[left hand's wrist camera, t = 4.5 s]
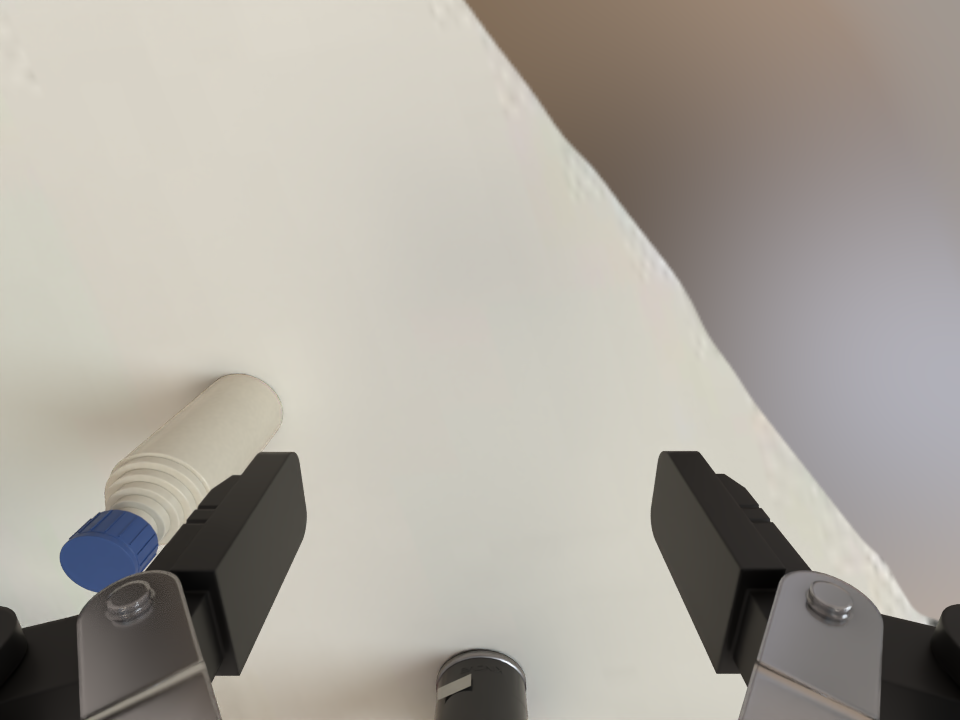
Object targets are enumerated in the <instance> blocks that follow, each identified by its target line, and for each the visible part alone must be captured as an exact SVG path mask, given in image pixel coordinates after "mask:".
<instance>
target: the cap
mask: <svg viewBox="0 0 960 720" xmlns="http://www.w3.org/2000/svg"><path fill="white" fill-rule="evenodd" d="M158 546H159V544H158V537H157V534H156V532H155V531H154V529H153V528H152V526H151V525H150V524H149V523H148V522H147V521H146V520H144V519H143V518H142V517H140V516H138V515H136V514H134V513H132V512H129V511H124V510H117V509H116V510H107V511H104V512H101V513H100V512H99V513H98V514H97V515H96V516H95V517H93V518H92V519H90V520H89V521H88V522H86V523H85V524H84V525H83V526H82V527H81V528H80V529H79V530H78V531H77V532H76V533H75V534H74V535H72V536H71V537H70V538H69V541H68V542H67V543H66V544H65V545H64V546H63V547H62V549H61V552H60V563H61V566H62V568H63V570H64V572H65V573H66V574H67V576H68V577H69V578H70V579H71V580H72V581H74V582H75V583H76V584H78V585H79V586H81V587H83V588H85V589H87V590H90V591H94V592H100V591H101V590H102V589H104V588H105V587H107V586H109V585H110V584H112V583H114V582H116V581H118V580H120V579H122V578H124V577H127V576H130V575H133V574H136V573H140V572H142V571H143V570H144V569H145V568H146V567H147V565H148V564H149V563H150V562H151V560H152V559H153V558H154V557H155V556H156V552H157V549H158Z"/></svg>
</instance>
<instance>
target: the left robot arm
mask: <svg viewBox="0 0 960 720" xmlns="http://www.w3.org/2000/svg"><path fill="white" fill-rule="evenodd" d="M306 521H307V511H306V504H305V497H304V490H303V483H302V477H301V470H300V463H299V459H298V456H297V454H296V453H295V452H259V453H258V454H257V455H256V456H255V457H254V459H253V460H252V461H251V462H250V464H249V465H248V466H247V468H246V469H245V470H244V472H243V473H242V474H241V475H232V476H230V477H229V478H227V479H226V480H224V481H223V482H221V483H220V484H218V485H217V486H215V487H214V488H212V489H211V490H210V492H209V493H208V494H207V495H206V496H205V498H204V499H203V500H202V501H201V503H200V504H199V505H198V509H195V510H194V511H193V512H192V514H191V515H190V516H189V517H188V519H187V520H186V524H183V525H182V526H181V527H180V529H179V530H178V531H177V532H176V533H175V535H174V536H173V537H172V538H171V540H170V541H169V542H168V543H167V545H166V546H165V547H164V548H163V549H162V551H161V552H160V553H159V554H158V556H157V557H156V558H155V559H154V561H153V562H152V563H151V564H150V565H149V567H148V568H147V569H146V570H145V571H144V572H140V573H136V574H133V575H130V576H127V577H124V578H122V579H120V580H118V581H116V582H114V583H112V584H110V585H109V586H107V587H105V588H104V589H102V590H101V591H100V592H98V593H97V594H96V595H95V596H94V597H92V598H91V599H90V600H89V601H88V602H87V604H86V605H85V606H84V607H83V609H82V610H81V612H80V614H79V615H76V616H72V617H68V618H64V619H60V620H56V621H51V622H47V623H43V624H39V625H34V626H30V627H26V628H21V626H20V623H19V621H18V619H17V617H16V614H15V613H14V612H13V611H12V610H11V609H9V608H7V607H2V606H0V720H222V719H221V715H220V712H219V708H218V705H217V702H216V698H215V695H214V691H213V688H212V685H211V683H212V681H213V679H214V677H215V676H240V674H241V671H242V669H243V667H244V665H245V663H246V661H247V659H248V656H249V654H250V652H251V650H252V648H253V646H254V644H255V641H256V639H257V637H258V635H259V633H260V631H261V628H262V626H263V624H264V622H265V620H266V618H267V616H268V613H269V611H270V609H271V607H272V605H273V603H274V600H275V598H276V596H277V594H278V592H279V590H280V588H281V585H282V583H283V581H284V579H285V577H286V575H287V572H288V570H289V568H290V566H291V564H292V562H293V560H294V557H295V555H296V553H297V551H298V549H299V547H300V545H301V542H302V540H303V537H304V534H305V529H306ZM651 526H652V531H653V535H654V538H655V541H656V543H657V545H658V547H659V549H660V551H661V554H662V556H663V558H664V560H665V562H666V565H667V567H668V569H669V571H670V573H671V575H672V578H673V580H674V582H675V584H676V586H677V588H678V591H679V593H680V595H681V597H682V599H683V602H684V604H685V606H686V608H687V610H688V612H689V615H690V617H691V619H692V621H693V623H694V626H695V628H696V630H697V632H698V634H699V636H700V639H701V641H702V643H703V645H704V647H705V649H706V652H707V654H708V656H709V658H710V660H711V663H712V665H713V667H714V669H715V671H716V673H717V674H741V675H742V677H743V679H744V681H745V683H746V685H747V687H748V688H747V691H746V695H745V698H744V702H743V705H742V708H741V712H740V715H739V719H738V720H960V604H956V605H951V606H949V607H947V608H946V609H945V610H944V611H943V612H942V615H941V617H940V619H939V622H938V624H937V626H936V627H933V626H929V625H925V624H921V623H916V622H912V621H908V620H904V619H900V618H895V617H891V616H887V615H883V614H880V612H879V610H878V609H877V607H876V606H875V605H874V604H873V602H872V601H871V600H870V599H869V598H868V597H866V596H865V595H864V594H863V593H862V592H860V591H859V590H858V589H856V588H855V587H853V586H851V585H850V584H848V583H846V582H844V581H842V580H840V579H838V578H836V577H833V576H830V575H827V574H824V573H820V572H816V571H812V570H811V569H810V568H809V567H808V565H807V564H806V563H805V562H804V560H803V559H802V558H801V557H800V555H799V554H798V553H797V552H796V551H795V549H794V548H793V547H792V546H791V544H790V543H789V542H788V541H787V539H786V538H785V537H784V536H783V534H782V533H781V532H780V531H779V529H778V528H777V527H776V526H775V524H774V523H773V522H770V518H769V517H768V516H767V514H766V513H765V512H764V511H763V509H762V508H759V505H758V503H757V502H756V501H755V500H754V498H753V497H752V496H751V495H750V493H749V492H748V491H747V490H746V488H744V487H743V486H741V485H740V484H738V483H737V482H735V481H734V480H733V479H731V478H730V477H728V476H727V475H725V474H715V472H714V471H713V470H712V468H711V467H710V466H709V464H708V463H707V462H706V460H705V459H704V458H703V456H702V455H701V454H700V453H699V452H697V451H663V452H661V454H660V456H659V459H658V464H657V471H656V478H655V485H654V492H653V499H652V506H651ZM436 690H437V698H436V710H435V720H528V714H527V702H526V679H525V675H524V672H523V670H522V669H521V667H520V666H519V665H518V664H517V663H516V662H515V661H514V660H512V659H511V658H509V657H507V656H505V655H503V654H500V653H497V652H492V651H482V650H481V651H470V652H466V653H462V654H460V655H457V656H455V657H453V658H452V659H450V660H449V661H448V662H446V663H445V664H444V665H443V667H442V668H441V670H440V671H439V674H438V677H437V686H436Z"/></svg>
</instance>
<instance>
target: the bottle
mask: <svg viewBox="0 0 960 720" xmlns="http://www.w3.org/2000/svg"><path fill="white" fill-rule="evenodd" d="M282 418H283V410H282V405H281V402H280V400H279V398H278V396H277V395H276V393H275V392H274V391H273V390H272V388H271V387H269V386H268V385H267V384H266V383H264V382H263V381H261V380H259V379H257V378H255V377H252V376H249V375H244V374H232V375H227V376H224V377H221V378H219V379H218V380H216V381H215V382H214V383H213V384H211V385H210V386H209V387H208V388H207V389H205V390H204V391H203V392H202V393H201V394H200V395H198V396H197V397H196V398H195V399H194V400H192V401H191V402H190V403H189V404H188V405H186V406H185V407H184V408H183V409H182V410H181V411H179V412H178V413H177V414H176V415H175V416H173V417H172V418H171V419H170V420H169V421H167V422H166V423H165V424H164V425H163V426H162V427H160V428H159V429H158V430H157V431H156V432H154V433H153V434H152V435H151V436H150V437H149V438H147V439H146V440H145V441H144V442H143V443H141V444H140V445H139V446H138V447H137V448H135V449H134V450H133V451H132V452H131V453H130V454H128V455H127V456H126V457H125V458H124V459H122V460H121V461H120V462H119V463H118V464H117V465H116V466H115V467H114V469H113V470H112V472H111V475H110V477H109V479H108V481H107V484H106V487H105V507H106V509H105V511H107V510H116V509H117V510H124V511H129V512H132V513H134V514H136V515H138V516H140V517H142V518H143V519H144V520H146V521H147V522H148V523H149V524H150V525H151V526H152V528H153V529H154V531H155V532H156V534H157V537H158V544H159V545H164V544H167V543H168V542H169V541H170V540H171V538H172V537H173V536H174V535H175V533H176V532H177V531H178V530H179V529H180V527H181V526H182V525H183V524H186V520H187V519H188V517H189V516H190V515H191V514H192V512H193V511H194V510H195V509H198V505H199V504H200V503H201V501H202V500H203V499H204V498H205V496H206V495H207V494H208V493H209V492H210V490H211V489H212V488H214V487H215V486H217V485H218V484H220V483H221V482H223V481H224V480H226V479H227V478H229V477H230V476H232V475H241V474H242V473H243V472H244V470H245V469H246V468H247V466H248V465H249V464H250V462H251V461H252V460H253V459H254V457H255V456H256V455H257V454H258V453H259V452H262V451H263V449H264V448H265V447H266V445H267V444H268V443H269V441H270V440H271V439H272V437H273V436H274V435H275V433H276V432H277V431H278V429H279V427H280V425H281V423H282Z"/></svg>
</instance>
